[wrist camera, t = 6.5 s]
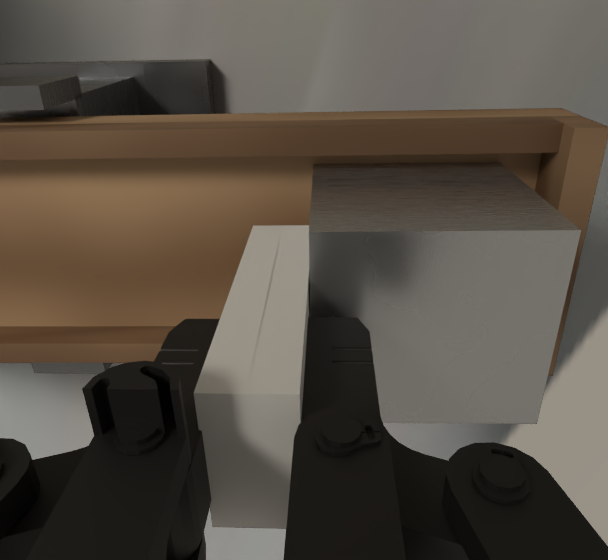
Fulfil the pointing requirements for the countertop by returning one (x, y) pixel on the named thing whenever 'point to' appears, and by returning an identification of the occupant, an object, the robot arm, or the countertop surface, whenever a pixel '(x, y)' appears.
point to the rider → (443, 283)
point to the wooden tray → (215, 207)
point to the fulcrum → (104, 105)
